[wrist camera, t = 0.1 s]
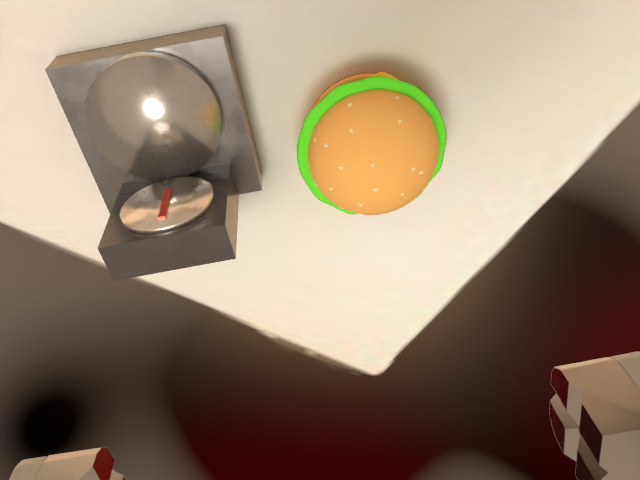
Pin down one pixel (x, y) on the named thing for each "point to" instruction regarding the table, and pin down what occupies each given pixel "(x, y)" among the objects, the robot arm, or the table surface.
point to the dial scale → (162, 146)
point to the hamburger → (371, 144)
